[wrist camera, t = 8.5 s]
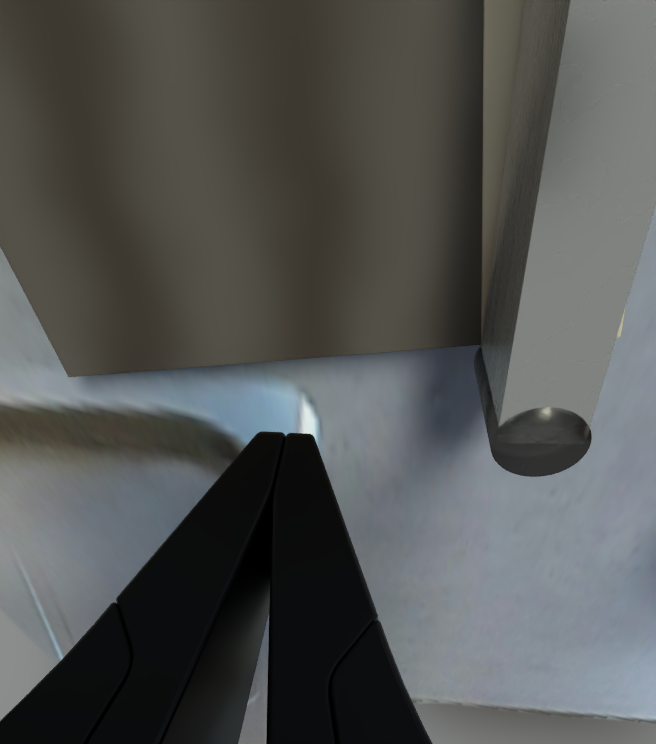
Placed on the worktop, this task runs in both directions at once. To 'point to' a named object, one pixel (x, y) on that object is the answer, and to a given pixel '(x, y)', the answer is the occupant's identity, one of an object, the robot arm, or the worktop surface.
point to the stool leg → (567, 225)
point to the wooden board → (253, 175)
